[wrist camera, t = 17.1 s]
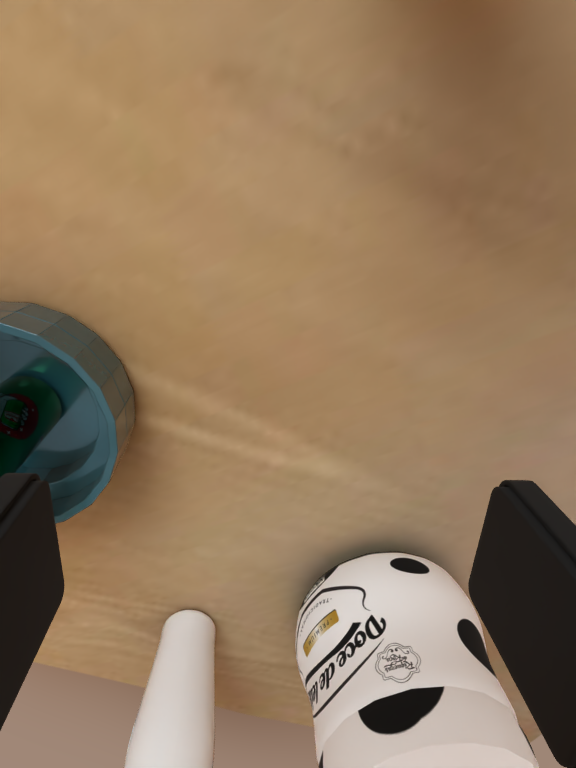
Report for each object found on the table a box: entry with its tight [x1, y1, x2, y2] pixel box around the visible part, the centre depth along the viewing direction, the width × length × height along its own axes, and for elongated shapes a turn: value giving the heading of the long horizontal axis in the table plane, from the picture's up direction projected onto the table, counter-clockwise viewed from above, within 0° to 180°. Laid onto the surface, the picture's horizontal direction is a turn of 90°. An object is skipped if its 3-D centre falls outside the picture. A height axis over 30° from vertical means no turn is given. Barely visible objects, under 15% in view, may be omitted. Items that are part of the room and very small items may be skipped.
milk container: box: [296, 552, 539, 768], centre depth 41 cm, size 17×17×18 cm
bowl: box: [0, 302, 135, 524], centre depth 36 cm, size 16×16×6 cm
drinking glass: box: [124, 610, 216, 768], centre depth 42 cm, size 7×7×15 cm
